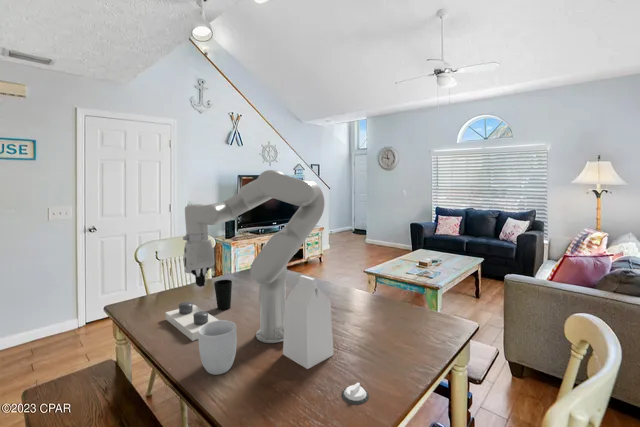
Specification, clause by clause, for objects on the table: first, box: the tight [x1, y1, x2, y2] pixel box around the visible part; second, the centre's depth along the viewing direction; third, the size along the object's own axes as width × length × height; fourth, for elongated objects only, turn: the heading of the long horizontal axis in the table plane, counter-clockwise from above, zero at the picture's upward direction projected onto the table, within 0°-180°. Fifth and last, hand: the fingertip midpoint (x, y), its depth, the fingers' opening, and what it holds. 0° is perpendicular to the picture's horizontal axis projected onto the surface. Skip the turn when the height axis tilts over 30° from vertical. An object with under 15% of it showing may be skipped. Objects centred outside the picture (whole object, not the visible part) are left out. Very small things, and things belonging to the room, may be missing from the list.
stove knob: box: [341, 381, 370, 406], centre depth 87 cm, size 7×7×3 cm
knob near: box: [193, 310, 209, 325], centre depth 126 cm, size 5×5×6 cm
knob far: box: [178, 301, 194, 314], centre depth 135 cm, size 5×5×6 cm
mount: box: [165, 304, 219, 342], centre depth 131 cm, size 26×12×3 cm, turn 45°
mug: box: [197, 319, 238, 376], centre depth 101 cm, size 15×11×13 cm
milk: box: [282, 275, 334, 370], centre depth 107 cm, size 12×12×26 cm
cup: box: [214, 279, 233, 312], centre depth 147 cm, size 8×8×12 cm
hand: (200, 285), depth 124 cm, fingers closed
